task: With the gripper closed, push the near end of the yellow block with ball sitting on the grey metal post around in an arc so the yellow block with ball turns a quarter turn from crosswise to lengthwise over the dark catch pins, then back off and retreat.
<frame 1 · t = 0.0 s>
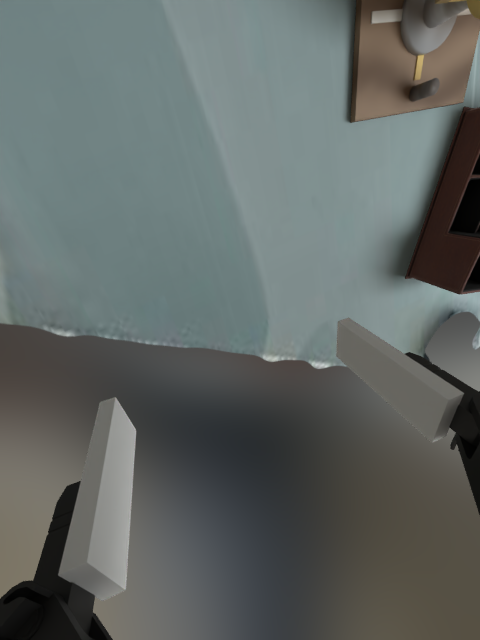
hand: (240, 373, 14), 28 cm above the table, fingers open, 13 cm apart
desk organizer: (447, 205, 49), on the table
base: (419, 17, 33), on the table
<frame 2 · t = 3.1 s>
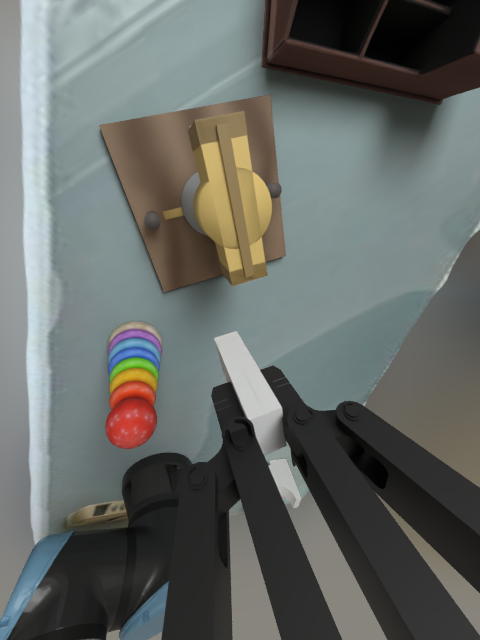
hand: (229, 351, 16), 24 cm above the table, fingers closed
desk organizer: (370, 34, 31), on the table
stacking toy: (136, 340, 40), on the table
white mounting bracket: (263, 479, 72), on the table
base: (210, 203, 34), on the table
yellow block with ball: (231, 209, 25), point 11 cm above the table, hinge at 0.0°
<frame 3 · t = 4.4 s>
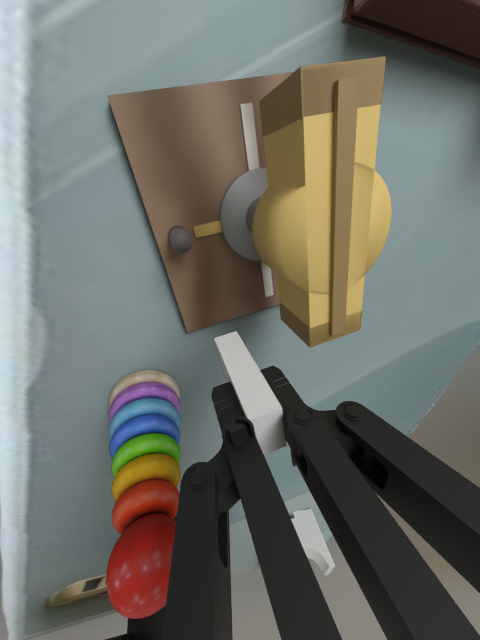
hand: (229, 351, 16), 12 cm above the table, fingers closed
stacking toy: (146, 391, 30), on the table
white mounting bracket: (283, 531, 62), on the table
base: (255, 216, 25), on the table
yellow block with ball: (317, 230, 16), point 11 cm above the table, hinge at 0.0°
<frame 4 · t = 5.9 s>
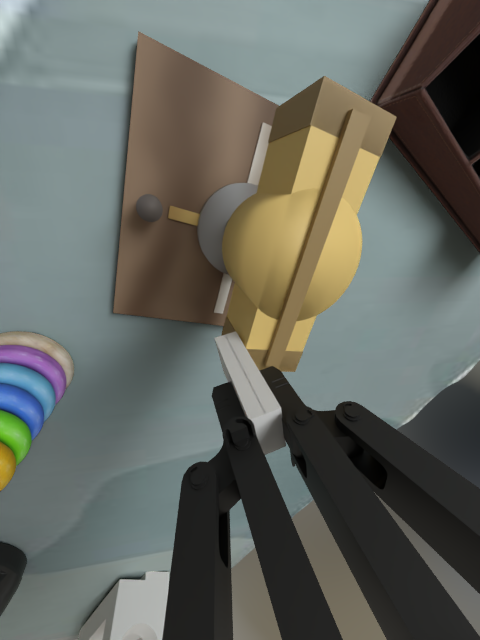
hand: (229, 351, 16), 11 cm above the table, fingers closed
desk organizer: (464, 154, 29), on the table
stacking toy: (29, 362, 24), on the table
white mounting bracket: (125, 594, 51), on the table
base: (236, 230, 24), on the table
yellow block with ball: (287, 254, 15), point 11 cm above the table, hinge at 2.1°, touching gripper
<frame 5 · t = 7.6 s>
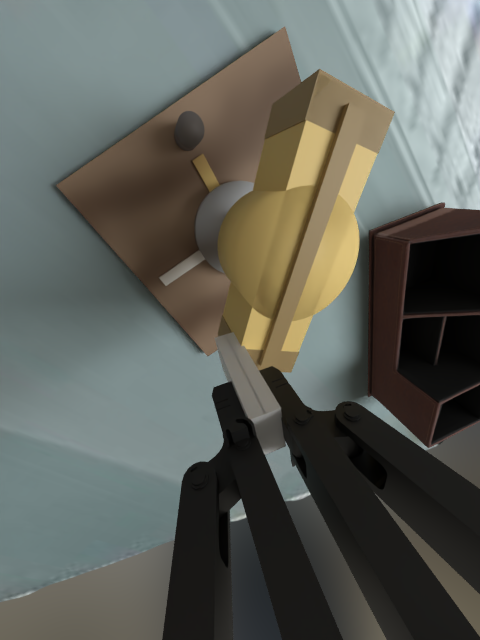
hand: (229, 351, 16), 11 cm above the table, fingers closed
desk organizer: (395, 316, 37), on the table
base: (234, 228, 24), on the table
yellow block with ball: (283, 253, 15), point 11 cm above the table, hinge at 45.2°, touching gripper
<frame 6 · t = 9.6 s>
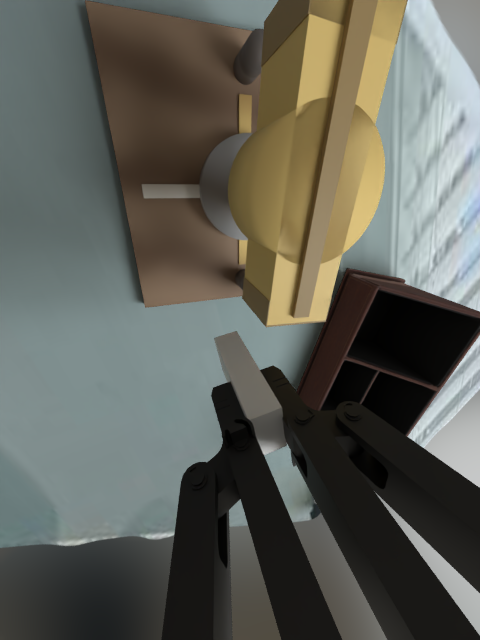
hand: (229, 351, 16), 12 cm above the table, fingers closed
desk organizer: (333, 363, 38), on the table
base: (240, 191, 23), on the table
yellow block with ball: (300, 192, 14), point 11 cm above the table, hinge at 85.8°
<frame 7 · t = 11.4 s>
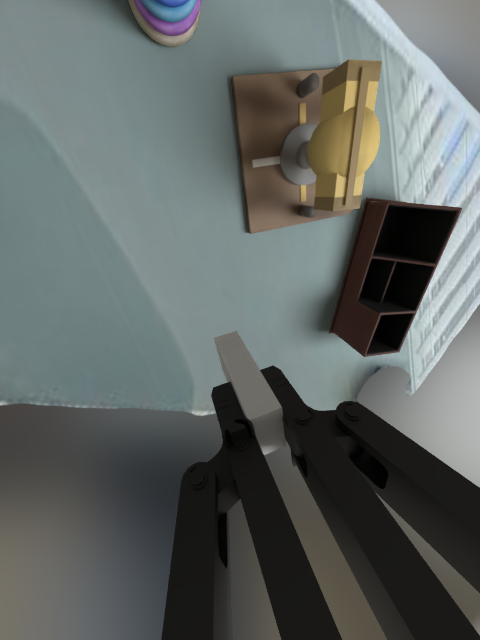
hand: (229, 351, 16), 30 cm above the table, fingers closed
desk organizer: (363, 272, 55), on the table
stacking toy: (163, 2, 28), on the table
base: (299, 157, 40), on the table
yellow block with ball: (343, 146, 31), point 11 cm above the table, hinge at 85.8°
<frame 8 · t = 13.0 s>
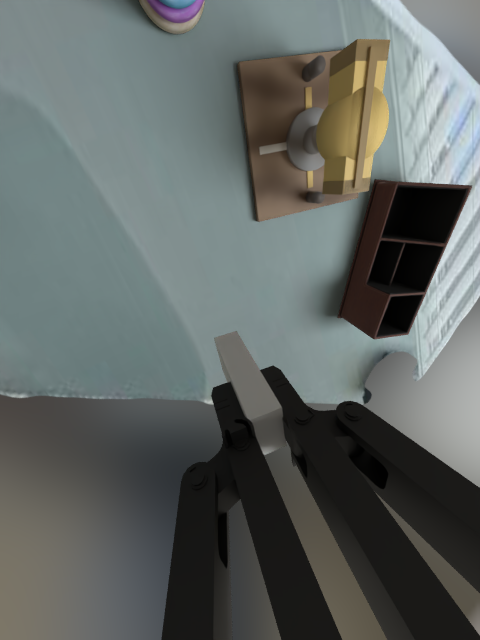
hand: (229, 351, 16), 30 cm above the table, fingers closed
desk organizer: (371, 256, 55), on the table
base: (305, 142, 40), on the table
yellow block with ball: (351, 129, 31), point 11 cm above the table, hinge at 85.8°
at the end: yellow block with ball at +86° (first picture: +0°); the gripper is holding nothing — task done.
